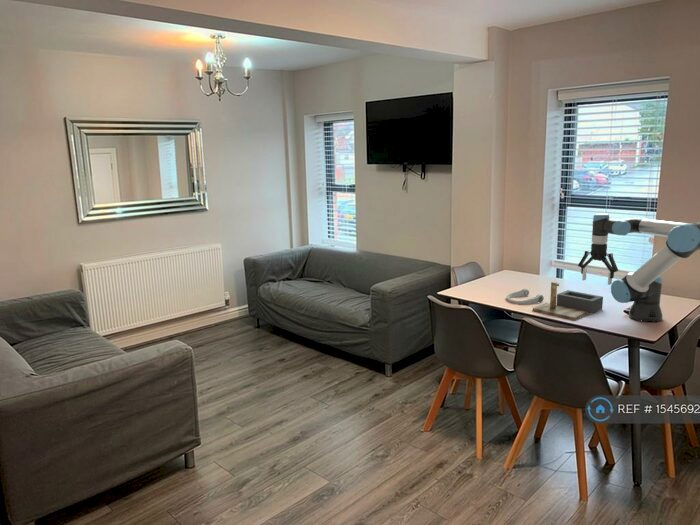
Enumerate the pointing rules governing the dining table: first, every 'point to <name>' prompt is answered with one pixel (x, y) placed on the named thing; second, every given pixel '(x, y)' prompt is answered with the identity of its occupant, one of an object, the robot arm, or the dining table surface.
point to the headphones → (524, 293)
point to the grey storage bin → (580, 301)
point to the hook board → (558, 307)
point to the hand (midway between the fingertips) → (596, 282)
